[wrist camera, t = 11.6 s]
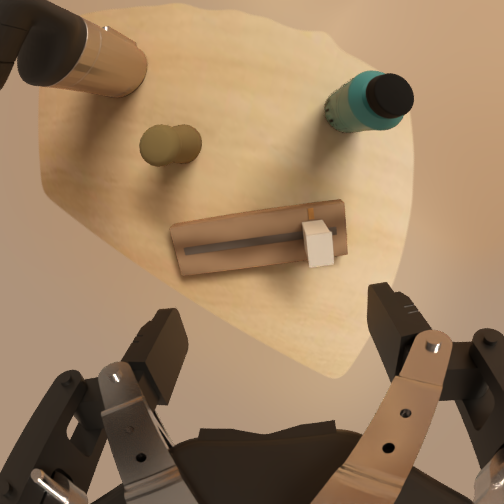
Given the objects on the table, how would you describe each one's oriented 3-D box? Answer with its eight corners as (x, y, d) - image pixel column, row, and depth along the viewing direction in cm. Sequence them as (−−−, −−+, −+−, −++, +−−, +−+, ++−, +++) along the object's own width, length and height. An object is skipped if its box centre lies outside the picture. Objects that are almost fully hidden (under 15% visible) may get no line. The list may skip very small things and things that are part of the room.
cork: (184, 171, 42) (157, 181, 32) (156, 147, 41) (123, 150, 31) (210, 141, 40) (190, 141, 30) (180, 116, 39) (152, 110, 29)
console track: (174, 223, 45) (169, 228, 43) (340, 199, 42) (344, 202, 40) (186, 269, 48) (181, 276, 46) (344, 248, 45) (347, 254, 43)
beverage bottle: (371, 118, 37) (441, 108, 19) (338, 142, 39) (391, 145, 21) (344, 84, 36) (399, 45, 17) (311, 107, 38) (344, 80, 19)
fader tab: (300, 221, 41) (306, 236, 35) (323, 218, 41) (331, 232, 35) (304, 249, 43) (309, 267, 37) (325, 246, 42) (334, 264, 36)
